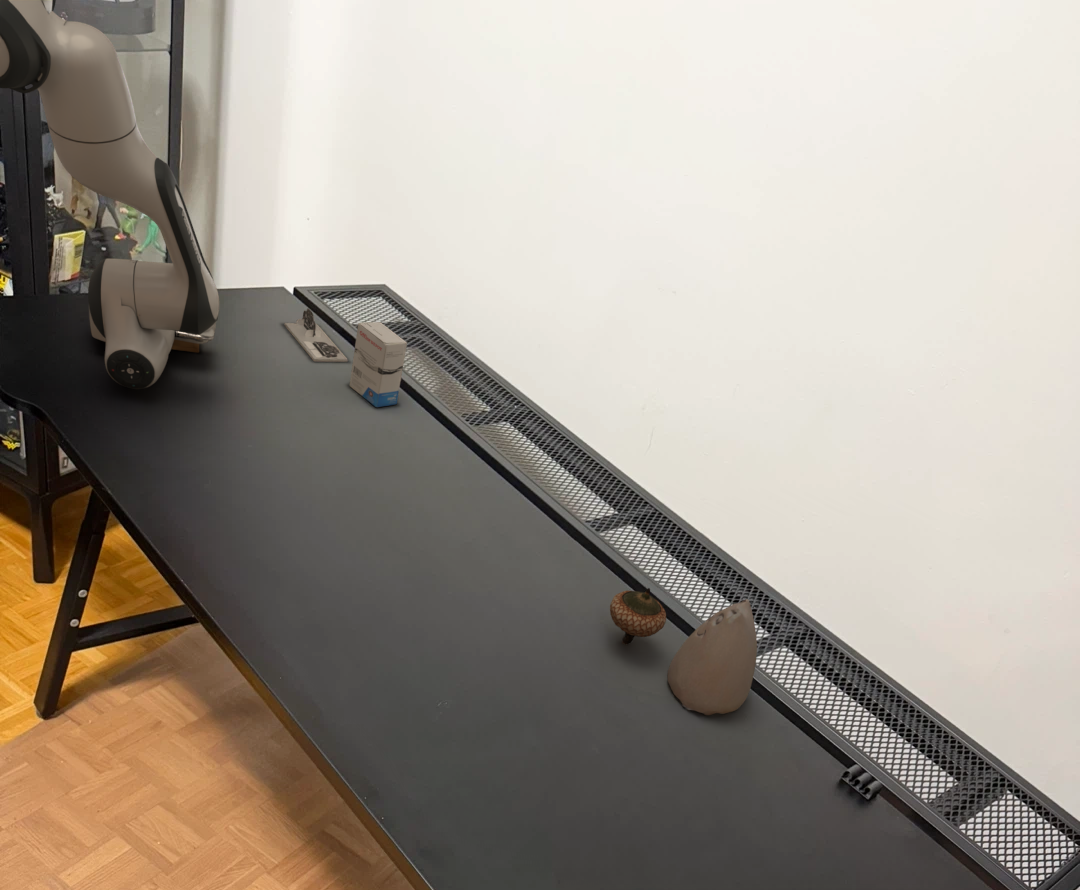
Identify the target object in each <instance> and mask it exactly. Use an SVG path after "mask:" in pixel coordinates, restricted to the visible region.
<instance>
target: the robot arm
mask: <svg viewBox="0 0 1080 890" xmlns="http://www.w3.org/2000/svg"><path fill="white" fill-rule="evenodd" d="M56 1H57V0H0V89H10V90H12V91H15V92H17V93H20V94H29V93H32V92H34V91H36V90H37V91H38V93H39V96H40V99H41V102H42V106H43V111H44V115H45V118H46V122H47V126H48V131H49V135H50V138H51V141H52V145H53V147H54V150H55V153H56V156H57V158H58V160H59V161H60V163H61V165H62V167H63V168H64V169H65V171H66V172H67V173H68V174H69V175H70V176H71V177H72V178H73V179H74V180H76V182H78V183H80V184H81V185H82V186H84V187H85V188H86V189H88V190H90V191H92V192H94V193H96V194H98V195H100V196H103V197H106V198H109V199H111V200H114V201H116V202H119V203H121V204H123V205H126V206H128V207H130V208H132V209H135V210H136V211H138V212H140V213H142V214H143V215H145V216H146V217H148V218H149V219H150V220H152V222H154V224H155V225H156V226H157V227H158V229H159V231H160V233H161V236H162V238H163V242H164V244H165V246H166V250H167V252H168V254H169V257H170V260H171V262H170V263H169V262H160V261H159V262H158V261H145V260H137V259H125V258H107V257H106V258H104V259H102V260H101V261H100V262H99V263H98V264H97V265H96V267H95V268H94V270H93V271H92V273H91V275H90V277H89V282H88V286H87V287H88V288H87V299H88V301H87V302H88V319H89V325H90V326H89V327H90V333H91V337H93V338H94V339H96V340H99V341H101V342H104V343H105V351H104V364H105V365H104V366H105V369H106V372H107V373H108V375H109V377H110V378H111V379H112V380H113V381H115V382H116V383H117V384H119V385H120V386H122V387H124V388H127V389H132V390H133V389H134V390H141V389H147V388H150V387H151V386H153V385H154V384H155V383H156V382H157V381H158V380H159V378H160V377H161V375H162V373H163V372H164V370H165V368H166V365H167V362H168V359H169V354H170V352H171V351H172V349H171V348H172V345H173V342H174V339H175V340H180V341H186V342H191V343H196V344H199V345H203V344H207V343H208V342H212V341H214V338H215V335H216V333H215V332H216V327H217V321H218V319H219V313H220V312H219V311H220V297H219V292H218V291H219V290H218V288H217V286H216V283H215V280H214V278H213V275H212V273H211V271H210V268H209V267H208V264H207V262H206V261H205V258H204V255H203V253H202V249H201V246H200V243H199V240H198V237H197V234H196V232H195V231H196V230H195V229H194V226H193V223H192V220H191V217H190V214H189V211H188V208H187V206H186V203H185V199H184V197H183V195H182V192H181V189H180V186H179V184H178V181H177V179H176V177H175V175H174V173H173V171H172V169H171V167H170V166H169V164H168V163H167V162H165V161H164V160H163V159H161V158H159V157H157V155H156V154H155V153H154V152H153V151H152V150H151V148H150V147H149V146H148V144H147V143H146V141H145V140H144V138H143V135H142V134H141V132H140V129H139V126H138V122H137V117H136V111H135V106H134V103H133V98H132V95H131V91H130V88H129V84H128V80H127V78H126V74H125V72H124V69H123V66H122V63H121V61H120V58H119V55H118V52H117V50H116V48H115V46H114V44H113V43H112V41H111V40H110V39H109V37H108V36H107V35H106V34H105V33H104V32H102V31H101V30H100V29H98V28H96V27H95V26H93V25H91V24H88V23H84V22H81V21H74V20H72V21H71V20H68V21H67V19H64V18H62V17H60V16H59V15H57V13H56V12H54V11H55V8H56V7H55V6H56ZM30 85H32V86H31V87H29V88H26V87H28V86H30Z"/></svg>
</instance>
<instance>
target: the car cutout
mask: <svg viewBox="0 0 1080 890" xmlns="http://www.w3.org/2000/svg"><path fill="white" fill-rule="evenodd" d="M314 316H315V315H314V312H313V311H312V310H311V309H310V308H306V310H303V313H302V318H298V319H296V322H284V324H283V325H284V327H285V328H286V329H287V330H288V332H289V333H290V334H291V335H292V336H293V338H294V339H295V340H296V342H298V344H299V345H300V347H301V348H302V349H303V350H304V351H305V353H306V354H307V355H308V356H309V357H310V359H311V360H312V361H313V362H314V363H315V362H317V363H318V362H319V363H320V362H321V363H325V362H327V363H336V362H337V363H339V362H340V363H341V362H342V363H347V362H348V361H349V360H348V358H347V356H346V355H344V353H343V352H342V350H340V349H339V348H338V346H337V345H336V344H335V343H334V342H333V340H332V339H331V338H330V337H329V335H327V334H326V332H325V331H324V330H323V329H322V327H321V326H320V325H319V324H318V323H316V321H315V317H314Z"/></svg>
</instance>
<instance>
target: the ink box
mask: <svg viewBox="0 0 1080 890" xmlns="http://www.w3.org/2000/svg"><path fill="white" fill-rule="evenodd" d="M407 346H408V342H407V341H406V340H404V339H403V338H401V337H400V336H399V335H398V334H397V333H395V332H394V331H392V330H391V329H390V328H389V327H387V326H386V325H385V324H383V323H382V321H373V322H371V321H370V322H367V321H366V322H360V323H358V324H357V330H356V337H355V344H354V352H353V360H352V365H351V373H350V378H349V379H350V380H349V385H348V386H349V387H350V388H351V389H353V390H354V391H355V392H356V393H357V394H359V395H360V396H361V397H362V398H364V399H365V400H366V401H368V403H370V404H371V405H372V406H374V407H375V408H381V407H388V406H395V405H397V404H398V399H399V393H400V386H401V381H402V375H403V369H404V363H405V359H406V358H405V357H406V351H407Z"/></svg>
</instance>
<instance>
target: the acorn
mask: <svg viewBox="0 0 1080 890" xmlns="http://www.w3.org/2000/svg"><path fill="white" fill-rule="evenodd" d="M650 592H651V588H650V587H648V588H646V590H645V592H643V591H638V590H623V591H621V592H619V593H616V594H614V596H613V597H612V600H611V602H610V605H609V613H610V617H611V620H612V621H613V624H614V625H615V626H616V627H618V628H619V629H620V630H621V631H622V632H624V635H623V638H622V641H621V644H622V645H625V646H626V645H629V644H631V643H632V642H633V641H634V639H635V637H637V638H647V637H651V636H653V635H657V633H659V632H660V631H661V630H662V629H664V627H665V624H666V623H667V613H666V610H665V608H664V607H663V605H662V604H661V603H660V602H659V601H658V599H656V598H654V597H653V596H652V595H650Z"/></svg>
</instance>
